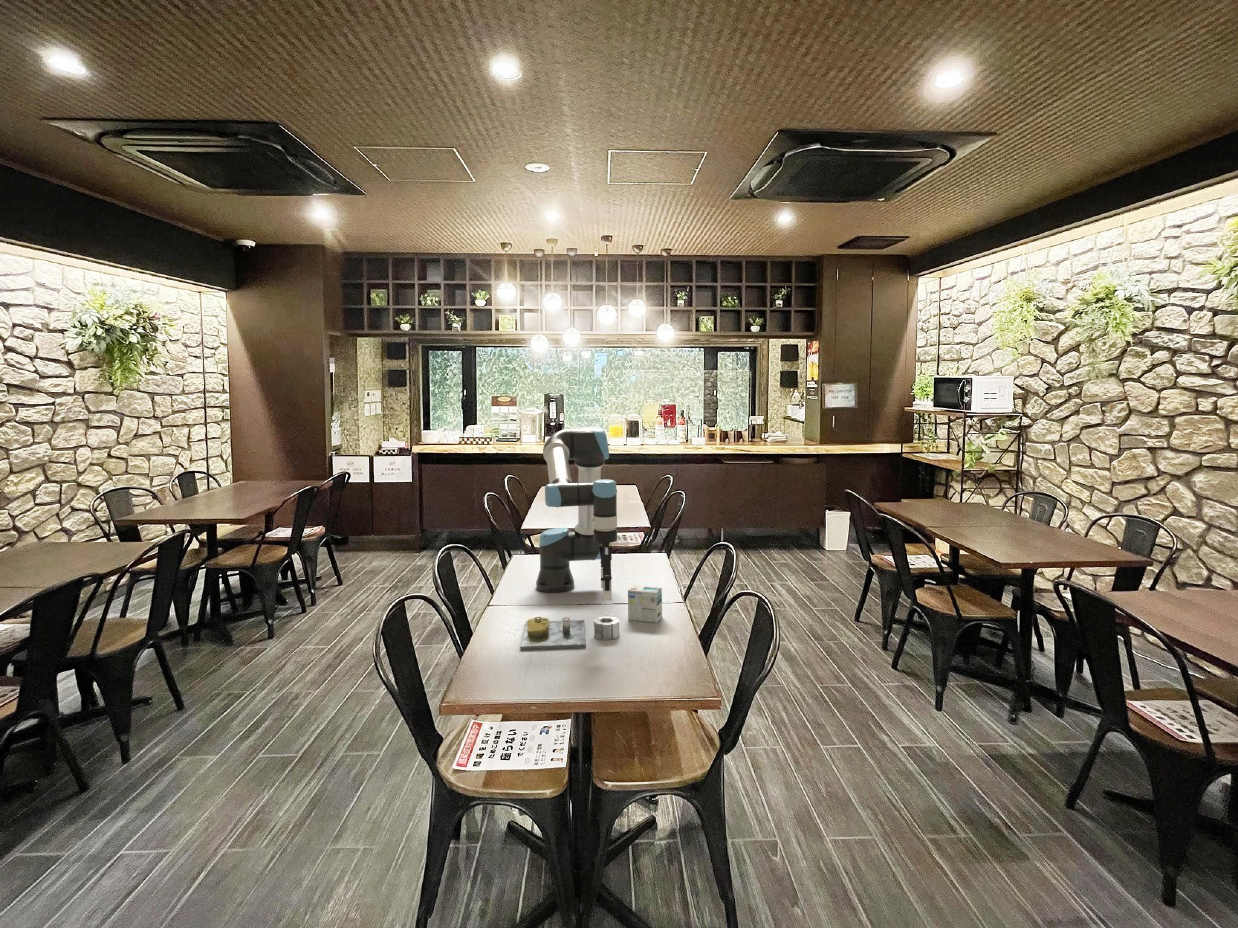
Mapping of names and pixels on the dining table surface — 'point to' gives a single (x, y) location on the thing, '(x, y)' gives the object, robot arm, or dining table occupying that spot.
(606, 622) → the planet gear
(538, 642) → the carrier
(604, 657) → the dining table surface
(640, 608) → the light bulb box
